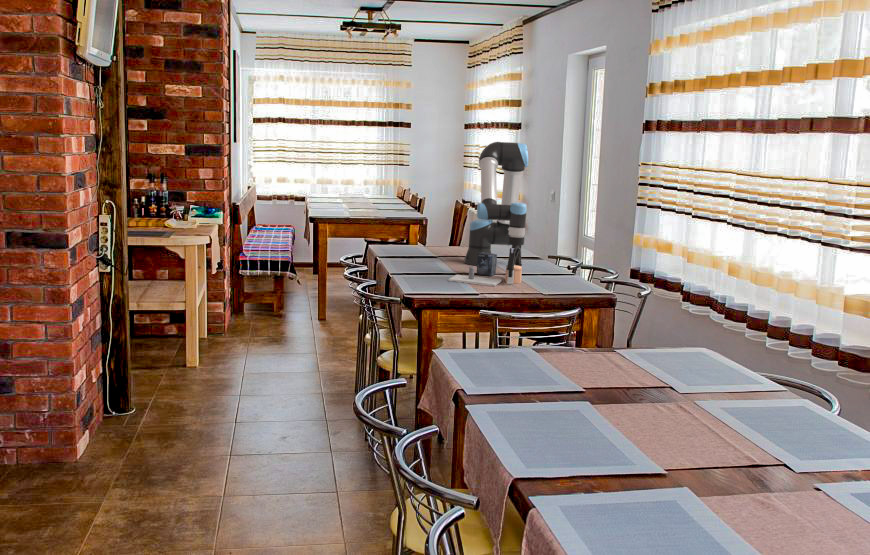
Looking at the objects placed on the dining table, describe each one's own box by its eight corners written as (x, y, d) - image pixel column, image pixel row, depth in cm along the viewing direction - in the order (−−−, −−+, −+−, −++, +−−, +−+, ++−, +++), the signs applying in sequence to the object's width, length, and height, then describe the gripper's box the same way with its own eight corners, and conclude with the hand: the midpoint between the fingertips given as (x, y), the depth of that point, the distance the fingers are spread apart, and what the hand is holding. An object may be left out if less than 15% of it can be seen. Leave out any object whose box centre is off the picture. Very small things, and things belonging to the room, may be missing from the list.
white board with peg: (456, 276, 403) (457, 263, 402) (501, 281, 396) (502, 268, 395) (448, 281, 391) (449, 267, 390) (494, 286, 384) (495, 272, 383)
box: (476, 274, 412) (477, 253, 410) (481, 273, 417) (482, 251, 415) (490, 276, 408) (492, 255, 406) (495, 275, 413) (497, 253, 411)
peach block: (507, 280, 402) (508, 263, 400) (522, 281, 400) (523, 264, 398) (503, 282, 395) (505, 265, 394) (518, 284, 393) (520, 267, 391)
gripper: (514, 232, 406) (511, 276, 410) (502, 238, 383) (499, 285, 387) (529, 234, 404) (526, 278, 408) (518, 239, 381) (515, 286, 385)
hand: (513, 281), depth 397 cm, fingers open, 12 cm apart
